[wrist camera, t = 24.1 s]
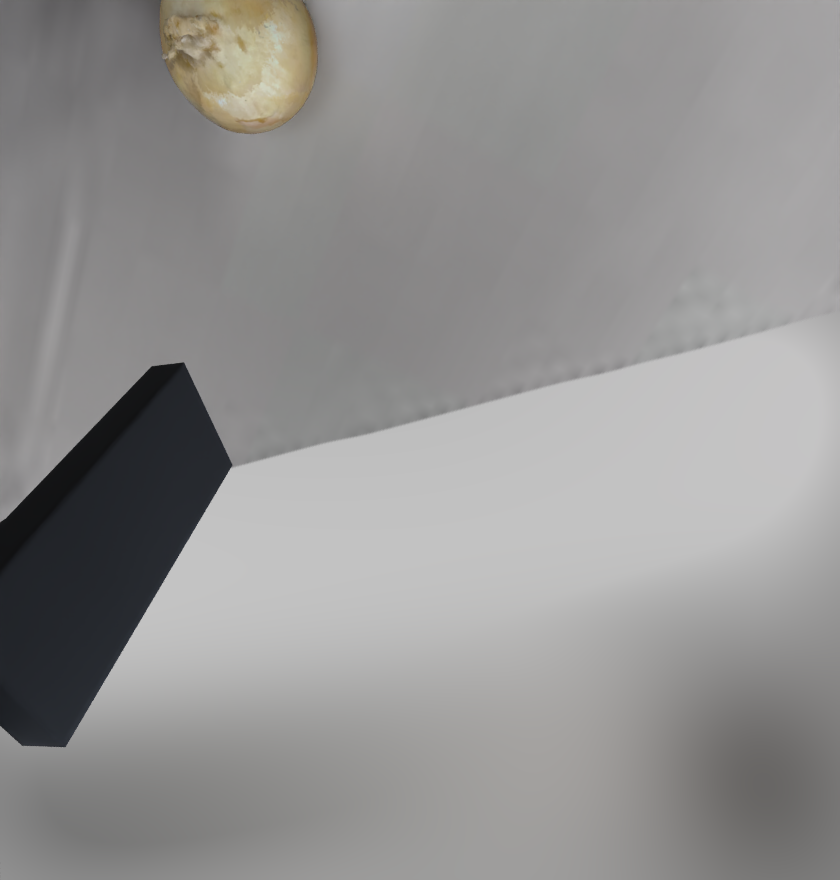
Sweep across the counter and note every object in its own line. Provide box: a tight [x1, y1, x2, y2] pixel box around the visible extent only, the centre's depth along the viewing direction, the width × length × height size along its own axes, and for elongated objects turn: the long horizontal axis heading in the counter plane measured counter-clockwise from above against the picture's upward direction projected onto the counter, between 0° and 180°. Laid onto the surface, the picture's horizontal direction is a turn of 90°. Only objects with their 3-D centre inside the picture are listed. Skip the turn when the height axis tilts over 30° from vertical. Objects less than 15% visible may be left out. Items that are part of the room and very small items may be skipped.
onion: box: [160, 0, 318, 134], centre depth 31 cm, size 8×8×7 cm
